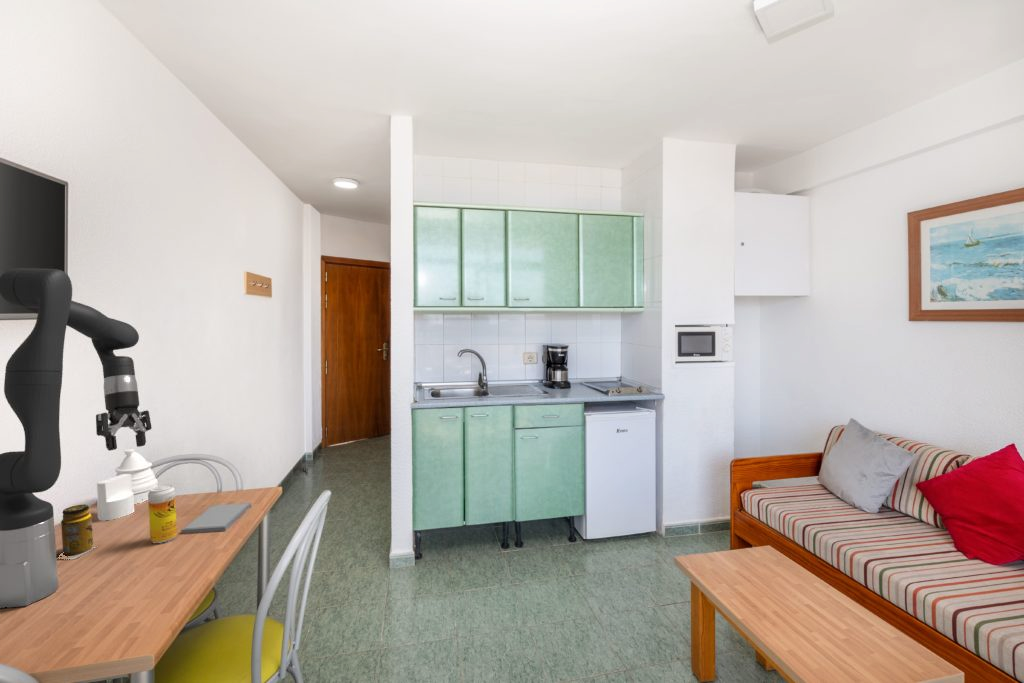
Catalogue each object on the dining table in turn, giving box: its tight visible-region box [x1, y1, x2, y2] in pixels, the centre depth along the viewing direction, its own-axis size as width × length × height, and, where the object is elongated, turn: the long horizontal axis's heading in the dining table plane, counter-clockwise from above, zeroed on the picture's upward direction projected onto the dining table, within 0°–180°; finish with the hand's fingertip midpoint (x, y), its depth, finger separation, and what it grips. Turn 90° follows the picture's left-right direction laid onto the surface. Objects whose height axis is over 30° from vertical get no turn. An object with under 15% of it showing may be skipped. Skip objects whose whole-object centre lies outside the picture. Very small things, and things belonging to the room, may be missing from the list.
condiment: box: [56, 504, 97, 561], centre depth 126 cm, size 7×8×12 cm
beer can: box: [147, 484, 178, 544], centre depth 132 cm, size 6×6×15 cm
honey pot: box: [114, 448, 159, 505], centre depth 163 cm, size 13×13×18 cm
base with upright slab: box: [96, 474, 135, 522], centre depth 150 cm, size 9×9×12 cm
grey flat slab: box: [180, 502, 252, 535], centre depth 146 cm, size 18×12×1 cm, turn 7°
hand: (127, 448), depth 133 cm, fingers open, 8 cm apart
